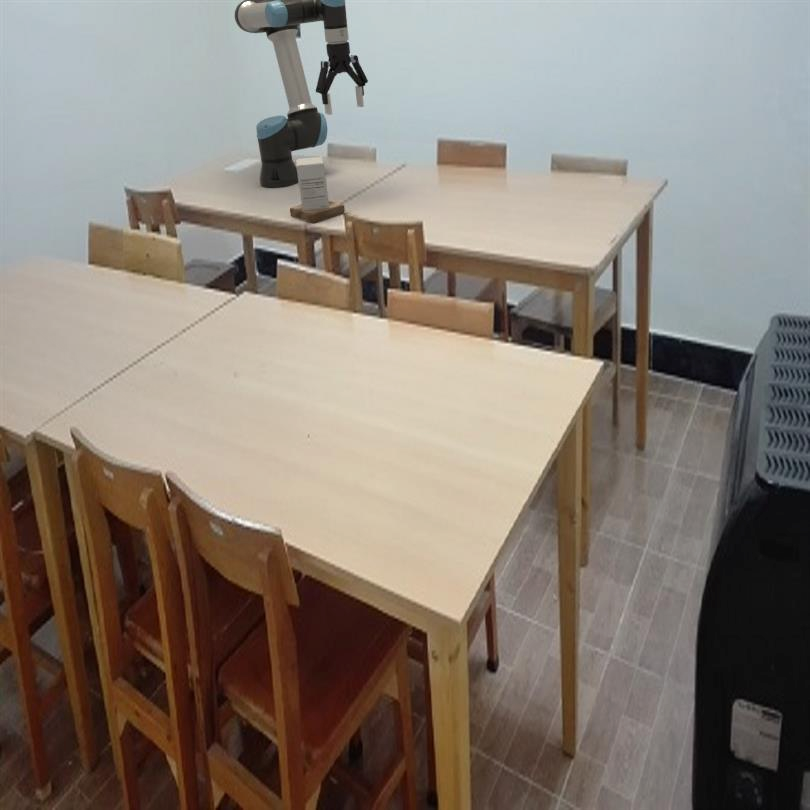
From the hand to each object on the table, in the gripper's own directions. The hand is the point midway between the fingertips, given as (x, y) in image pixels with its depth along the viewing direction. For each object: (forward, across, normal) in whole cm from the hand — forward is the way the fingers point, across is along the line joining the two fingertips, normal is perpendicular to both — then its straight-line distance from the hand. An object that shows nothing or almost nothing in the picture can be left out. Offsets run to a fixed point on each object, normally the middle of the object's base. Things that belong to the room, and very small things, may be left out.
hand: (344, 110), depth 275 cm
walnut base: (+29, -22, -8) cm, 37 cm away
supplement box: (+26, -22, -8) cm, 35 cm away
